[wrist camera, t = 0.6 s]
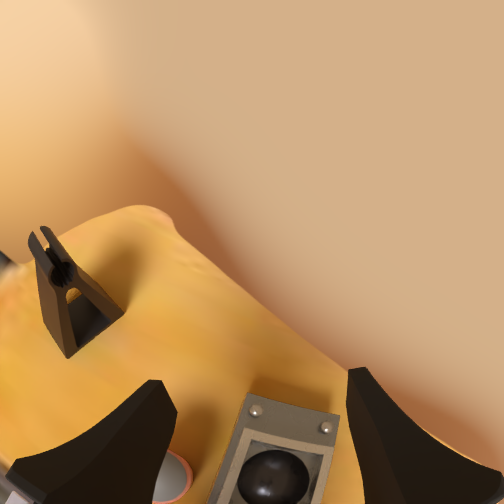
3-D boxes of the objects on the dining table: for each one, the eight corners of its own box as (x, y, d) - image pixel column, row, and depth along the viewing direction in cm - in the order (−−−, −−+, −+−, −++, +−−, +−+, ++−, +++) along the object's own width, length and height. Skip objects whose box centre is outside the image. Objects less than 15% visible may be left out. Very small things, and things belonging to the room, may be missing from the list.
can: (184, 503, 16) (177, 514, 11) (136, 482, 16) (113, 484, 11) (200, 463, 19) (198, 461, 14) (153, 444, 20) (136, 434, 15)
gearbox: (300, 526, 15) (317, 534, 12) (203, 507, 16) (203, 514, 13) (327, 422, 24) (347, 411, 20) (242, 400, 24) (249, 387, 21)
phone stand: (98, 284, 31) (73, 206, 23) (124, 314, 29) (100, 235, 21) (44, 324, 25) (0, 252, 17) (67, 359, 23) (15, 292, 15)
